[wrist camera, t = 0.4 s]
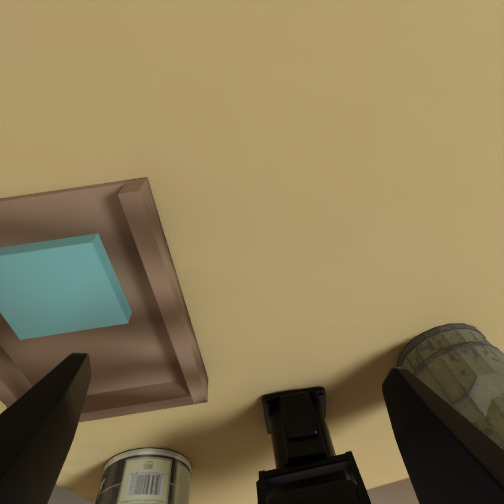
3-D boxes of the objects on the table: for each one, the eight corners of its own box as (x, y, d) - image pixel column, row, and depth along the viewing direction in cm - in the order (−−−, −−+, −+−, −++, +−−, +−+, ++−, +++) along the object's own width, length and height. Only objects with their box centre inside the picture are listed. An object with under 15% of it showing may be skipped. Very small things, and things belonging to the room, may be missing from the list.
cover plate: (131, 312, 25) (128, 323, 24) (28, 328, 24) (20, 339, 23) (98, 233, 21) (91, 242, 20) (-25, 251, 21) (-37, 261, 20)
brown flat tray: (208, 378, 30) (207, 402, 28) (41, 405, 30) (28, 430, 28) (147, 177, 20) (139, 191, 18) (-112, 215, 20) (-150, 233, 18)
